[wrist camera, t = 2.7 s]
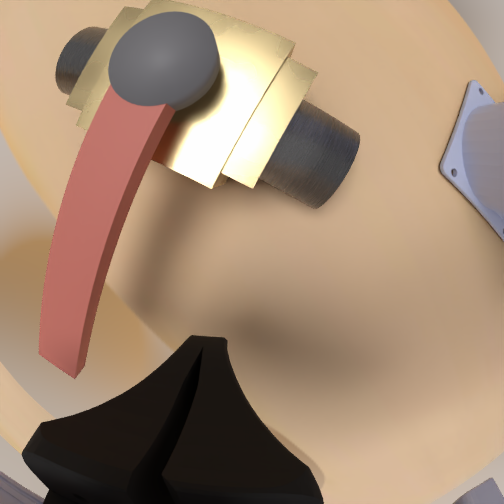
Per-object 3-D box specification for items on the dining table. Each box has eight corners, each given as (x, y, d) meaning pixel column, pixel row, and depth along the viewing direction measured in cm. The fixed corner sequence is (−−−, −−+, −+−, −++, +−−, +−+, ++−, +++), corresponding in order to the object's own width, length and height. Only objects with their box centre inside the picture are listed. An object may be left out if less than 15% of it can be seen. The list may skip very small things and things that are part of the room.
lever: (239, 44, 7) (237, 28, 6) (96, 371, 10) (86, 387, 9) (155, 18, 6) (145, 3, 5) (41, 335, 10) (28, 347, 9)
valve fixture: (348, 122, 13) (400, 98, 8) (295, 220, 14) (321, 249, 9) (126, 29, 11) (82, -15, 6) (77, 115, 13) (13, 101, 7)
